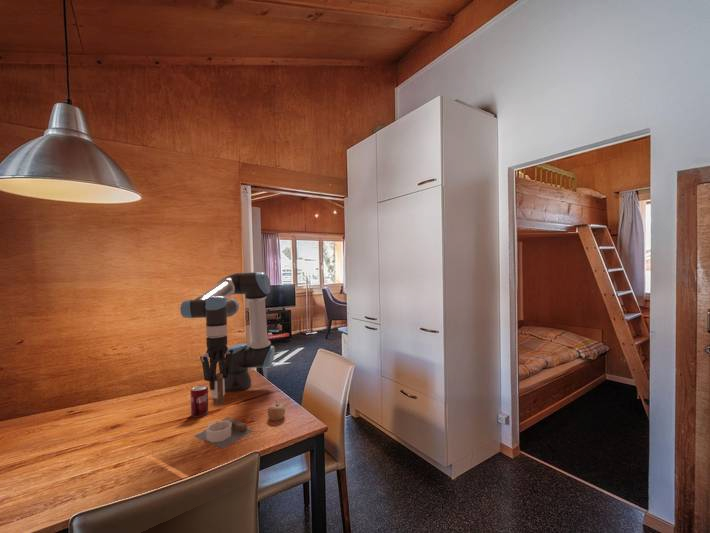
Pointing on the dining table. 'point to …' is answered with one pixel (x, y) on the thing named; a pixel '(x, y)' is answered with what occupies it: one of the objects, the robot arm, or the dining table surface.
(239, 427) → the bar
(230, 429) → the white octagonal bowl
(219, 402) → the brown wooden bar
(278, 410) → the fruit
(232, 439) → the slate board
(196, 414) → the soda can
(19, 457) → the dining table surface
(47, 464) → the dining table surface
